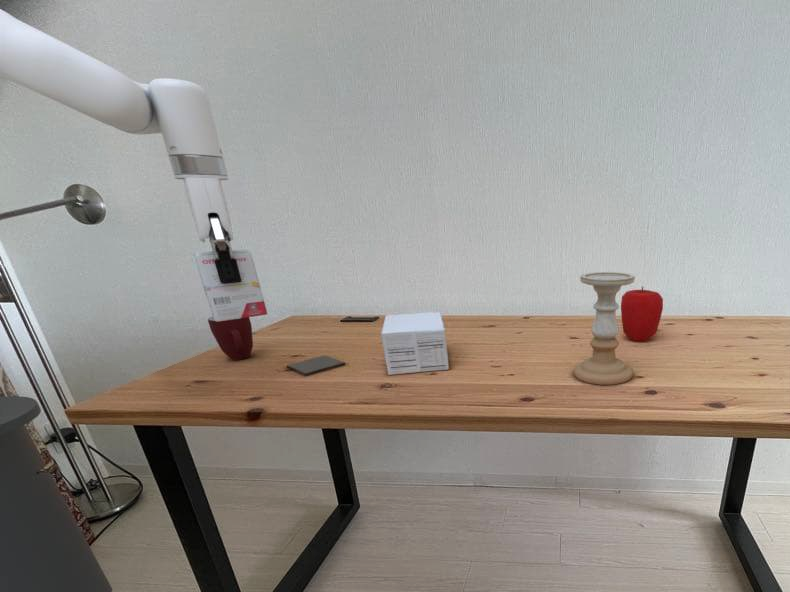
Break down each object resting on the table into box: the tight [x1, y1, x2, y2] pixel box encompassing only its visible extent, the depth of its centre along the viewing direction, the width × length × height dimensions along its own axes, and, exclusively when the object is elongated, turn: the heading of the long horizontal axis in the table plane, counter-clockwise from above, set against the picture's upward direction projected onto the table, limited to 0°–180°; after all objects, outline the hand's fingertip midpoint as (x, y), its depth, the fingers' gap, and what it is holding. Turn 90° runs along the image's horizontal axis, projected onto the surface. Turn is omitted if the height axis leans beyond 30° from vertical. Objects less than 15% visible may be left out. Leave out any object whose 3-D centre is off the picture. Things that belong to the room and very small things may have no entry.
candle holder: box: [573, 271, 636, 386], centre depth 91 cm, size 12×12×20 cm
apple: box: [620, 286, 664, 343], centre depth 117 cm, size 10×10×14 cm
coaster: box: [286, 354, 346, 377], centre depth 103 cm, size 9×9×1 cm
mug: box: [207, 316, 254, 361], centre depth 107 cm, size 10×8×10 cm
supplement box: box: [380, 311, 450, 376], centre depth 103 cm, size 17×13×9 cm
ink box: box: [193, 249, 268, 322], centre depth 84 cm, size 9×5×12 cm, turn 127°
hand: (230, 279), depth 83 cm, fingers closed on ink box, 5 cm apart
